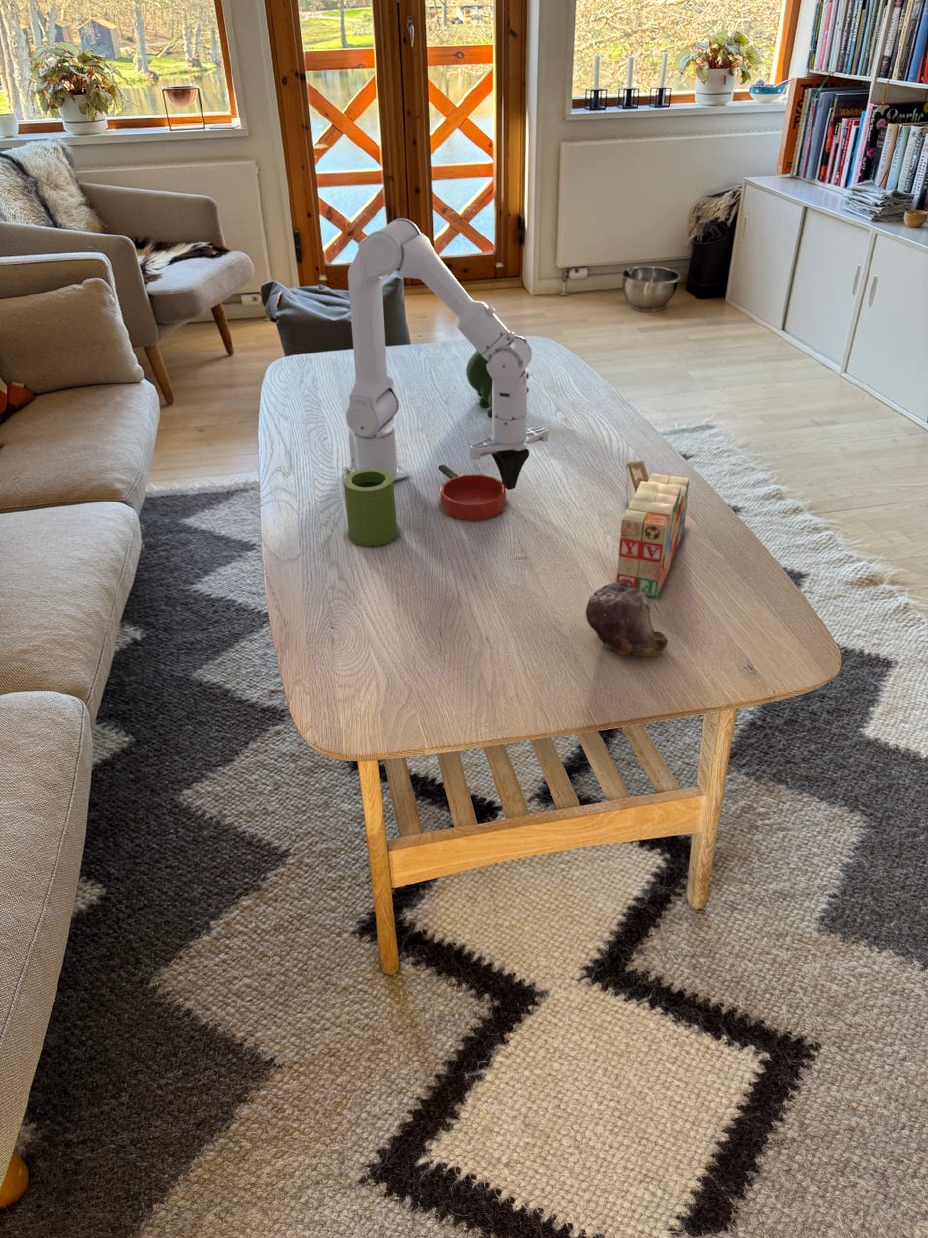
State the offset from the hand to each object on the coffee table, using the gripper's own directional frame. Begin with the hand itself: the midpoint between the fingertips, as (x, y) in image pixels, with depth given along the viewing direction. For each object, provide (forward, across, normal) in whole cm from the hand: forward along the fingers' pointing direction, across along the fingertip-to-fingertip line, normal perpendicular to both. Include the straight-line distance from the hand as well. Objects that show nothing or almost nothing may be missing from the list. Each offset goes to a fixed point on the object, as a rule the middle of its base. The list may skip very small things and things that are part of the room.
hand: (509, 486), depth 164 cm
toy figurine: (+2, +18, +33) cm, 37 cm away
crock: (+1, -26, 0) cm, 26 cm away
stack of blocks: (+2, +7, -30) cm, 31 cm away
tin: (+2, +13, -19) cm, 23 cm away
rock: (+2, -10, -45) cm, 46 cm away
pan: (+1, -7, +3) cm, 8 cm away
